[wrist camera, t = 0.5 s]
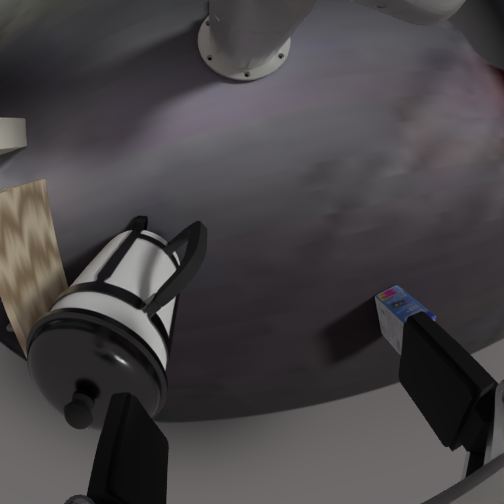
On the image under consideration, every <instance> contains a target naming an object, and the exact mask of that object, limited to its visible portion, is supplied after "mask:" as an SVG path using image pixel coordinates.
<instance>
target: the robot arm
mask: <svg viewBox="0 0 504 504" xmlns="http://www.w3.org/2000/svg"><path fill="white" fill-rule="evenodd" d="M349 1H352V2H355V3H358V4H361V5H363V6H366V7H369V8H372V9H374V10H377V11H379V12H382V13H385V14H387V15H390V16H392V17H394V18H397V19H400V20H402V21H405V22H408V23H411V24H416V25H424V26H428V25H435V24H438V23H441V22H443V21H445V20H446V19H448V18H449V17H451V16H452V15H453V14H454V13H455V12H456V11H457V10H458V9H459V8H460V7H461V5H462V4H463V2H464V1H465V0H349ZM315 3H316V0H209V16H208V17H207V18H206V19H205V20H204V22H203V23H202V25H201V27H200V30H199V33H198V48H199V52H200V55H201V57H202V59H203V60H204V62H205V63H206V64H207V65H208V67H209V68H211V69H212V70H213V71H214V72H216V73H217V74H219V75H221V76H223V77H226V78H229V79H232V80H238V81H252V80H258V79H261V78H264V77H266V76H268V75H270V74H272V73H273V72H275V71H276V70H277V69H278V68H279V67H280V66H281V65H282V64H283V63H284V61H285V60H286V58H287V56H288V54H289V51H290V45H291V41H290V36H291V35H292V34H293V33H294V31H295V30H296V29H297V28H298V27H299V25H300V24H301V23H302V22H303V21H304V19H305V18H306V17H307V16H308V14H309V13H310V12H311V10H312V9H313V7H314V5H315ZM208 24H209V26H207V25H208ZM278 56H280V57H281V59H280V58H278ZM208 58H212V60H208ZM245 74H247V75H248V77H245ZM399 380H400V382H401V384H402V385H403V387H404V388H405V390H406V391H407V392H408V394H409V396H410V397H411V398H412V400H413V401H414V402H415V404H416V406H417V407H418V408H419V410H420V411H421V413H422V414H423V416H424V417H425V419H426V420H427V422H428V423H429V425H430V426H431V428H432V429H433V431H434V432H435V434H436V435H437V437H438V438H439V440H440V441H441V443H442V444H443V445H444V446H445V447H448V446H449V448H450V449H451V450H452V451H454V450H455V449H457V448H458V447H460V446H461V445H463V446H464V448H465V449H466V451H467V452H466V458H465V464H464V468H463V473H462V477H461V481H460V482H458V483H457V484H455V485H454V486H452V487H450V488H449V489H447V490H445V491H443V492H441V493H440V494H438V495H436V496H434V497H433V498H431V499H429V500H427V501H425V502H424V503H421V504H504V380H502V381H501V382H500V383H499V384H498V383H497V382H496V381H495V380H494V379H493V378H492V377H491V376H490V374H489V373H488V372H486V370H485V369H484V368H483V367H482V366H481V365H480V364H479V363H478V362H477V361H476V360H475V359H474V358H473V357H472V356H471V355H470V354H469V353H468V352H467V351H466V350H465V349H464V348H463V347H462V346H461V345H460V344H459V343H458V342H457V341H456V340H454V339H453V338H452V337H451V336H450V335H449V334H448V333H447V332H446V331H445V330H443V329H442V328H441V327H440V326H439V325H438V324H437V323H436V322H435V321H434V320H433V319H432V318H431V317H430V316H429V315H427V314H426V313H425V312H424V311H420V312H418V313H416V314H413V315H411V316H409V317H408V318H407V321H406V322H405V323H404V325H403V337H402V349H401V359H400V368H399ZM168 449H169V447H168V441H167V438H166V437H165V436H164V434H163V433H162V432H161V430H160V429H159V428H158V426H157V425H156V424H155V422H154V421H153V420H152V418H151V417H150V416H149V414H148V413H147V411H146V410H145V409H144V407H143V406H142V404H141V403H140V401H139V400H138V399H137V397H136V396H135V395H131V394H130V393H129V392H123V393H115V394H113V395H112V396H111V399H110V403H109V406H108V410H107V414H106V417H105V421H104V425H103V429H102V432H101V435H100V438H99V442H98V446H97V450H96V455H95V459H94V463H93V468H92V472H91V477H90V482H89V487H88V492H87V496H85V495H74V496H72V497H70V498H69V499H68V500H66V502H65V503H64V504H166V494H167V493H166V492H167V467H168Z"/></svg>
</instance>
